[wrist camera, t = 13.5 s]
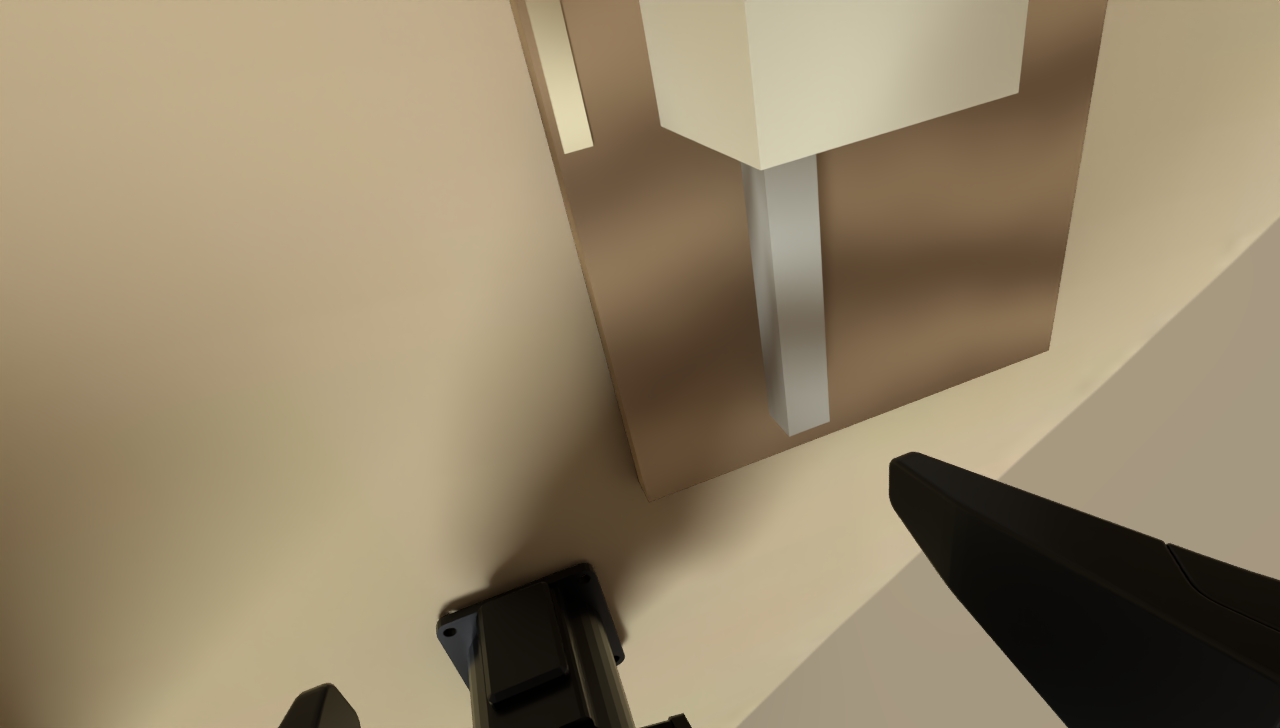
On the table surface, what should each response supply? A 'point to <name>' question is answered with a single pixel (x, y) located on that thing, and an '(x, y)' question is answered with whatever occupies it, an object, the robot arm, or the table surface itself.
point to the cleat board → (881, 246)
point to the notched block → (824, 68)
